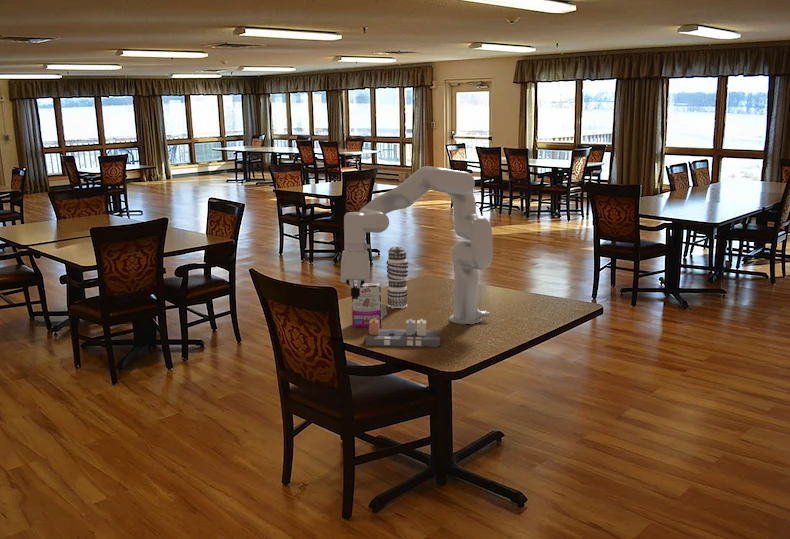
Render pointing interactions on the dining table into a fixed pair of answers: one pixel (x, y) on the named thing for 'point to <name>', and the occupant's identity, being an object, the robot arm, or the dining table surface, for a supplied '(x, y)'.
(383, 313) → the ceramic mug
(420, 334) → the slider ivory
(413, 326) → the slider grey
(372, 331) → the slider rust
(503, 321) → the dining table surface
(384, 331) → the switch unit
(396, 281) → the decorative candle
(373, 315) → the candy bar box
